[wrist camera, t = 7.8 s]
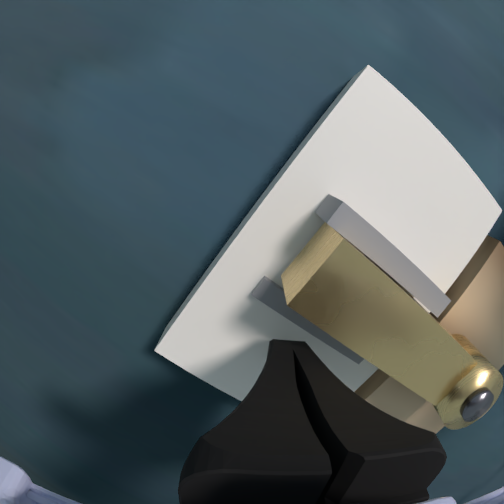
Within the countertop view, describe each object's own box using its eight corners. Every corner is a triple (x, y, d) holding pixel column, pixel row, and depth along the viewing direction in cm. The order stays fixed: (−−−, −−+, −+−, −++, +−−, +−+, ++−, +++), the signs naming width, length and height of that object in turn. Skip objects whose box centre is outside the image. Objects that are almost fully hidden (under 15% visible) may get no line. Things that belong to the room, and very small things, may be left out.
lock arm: (478, 351, 13) (515, 391, 9) (436, 395, 13) (464, 441, 10) (330, 210, 11) (362, 234, 7) (273, 279, 12) (279, 329, 8)
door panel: (352, 76, 11) (389, 48, 8) (477, 203, 13) (531, 220, 9) (165, 327, 15) (140, 378, 11) (302, 406, 16) (311, 461, 12)
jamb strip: (477, 230, 13) (499, 240, 11) (524, 299, 14) (542, 311, 12) (327, 402, 16) (334, 426, 14) (400, 436, 17) (408, 456, 15)
